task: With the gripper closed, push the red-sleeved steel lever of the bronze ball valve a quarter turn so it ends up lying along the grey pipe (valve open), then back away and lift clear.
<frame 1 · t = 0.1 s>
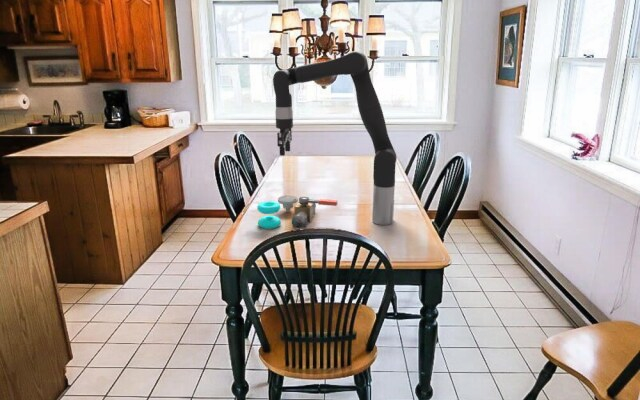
hand: (285, 153, 211), 29 cm above the table, tool pointing down, fingers open, 8 cm apart
valve body: (304, 219, 213), on the table
donuts: (269, 225, 206), on the table
lever: (317, 201, 209), point 9 cm above the table, hinge at 90.0°
showerhead: (288, 211, 224), on the table
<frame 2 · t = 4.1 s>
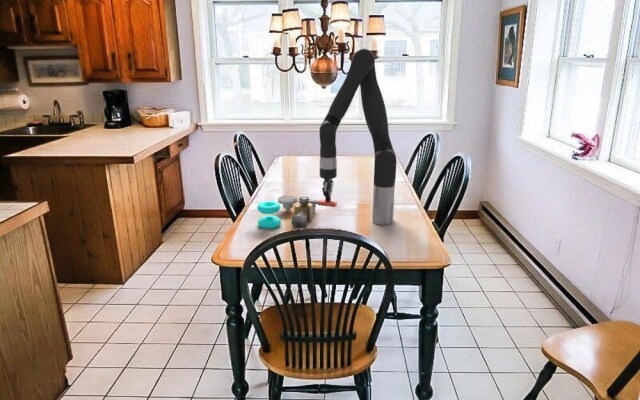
hand: (328, 203, 211), 8 cm above the table, tool pointing down, fingers closed
lever: (317, 202, 208), point 9 cm above the table, hinge at 82.8°, touching gripper
everything else where it was.
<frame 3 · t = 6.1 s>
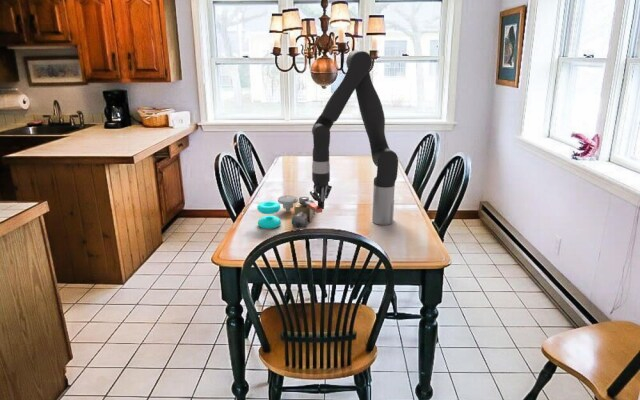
hand: (321, 209, 204), 8 cm above the table, tool pointing down, fingers closed
lever: (310, 204, 205), point 9 cm above the table, hinge at 40.1°, touching gripper
everything else where it was.
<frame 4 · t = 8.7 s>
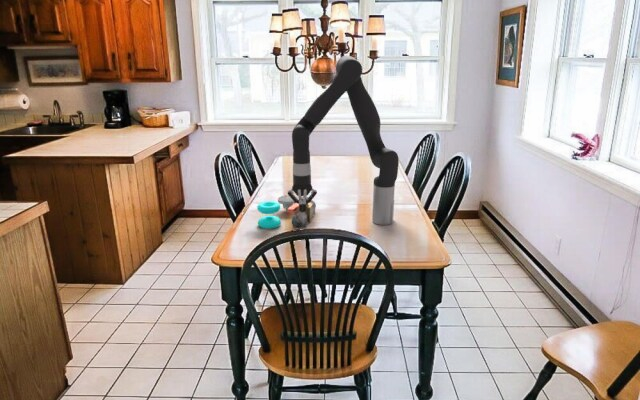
hand: (302, 211, 201), 8 cm above the table, tool pointing down, fingers closed
lever: (298, 205, 205), point 9 cm above the table, hinge at -8.3°, touching gripper
everything else where it was.
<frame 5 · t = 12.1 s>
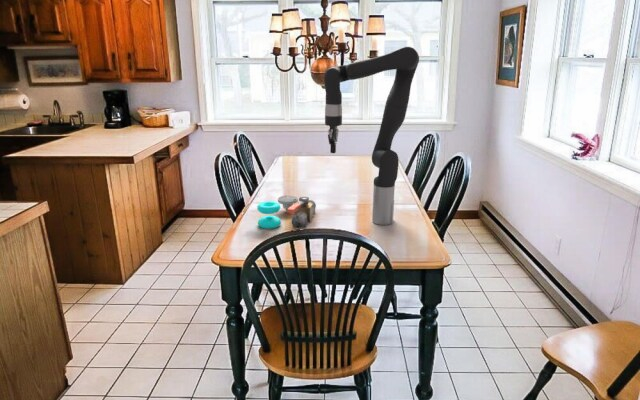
hand: (333, 152, 212), 29 cm above the table, tool pointing down, fingers closed
lever: (298, 205, 205), point 9 cm above the table, hinge at -8.3°
everything else where it was.
at the end: lever at -8° (first picture: +90°) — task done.
